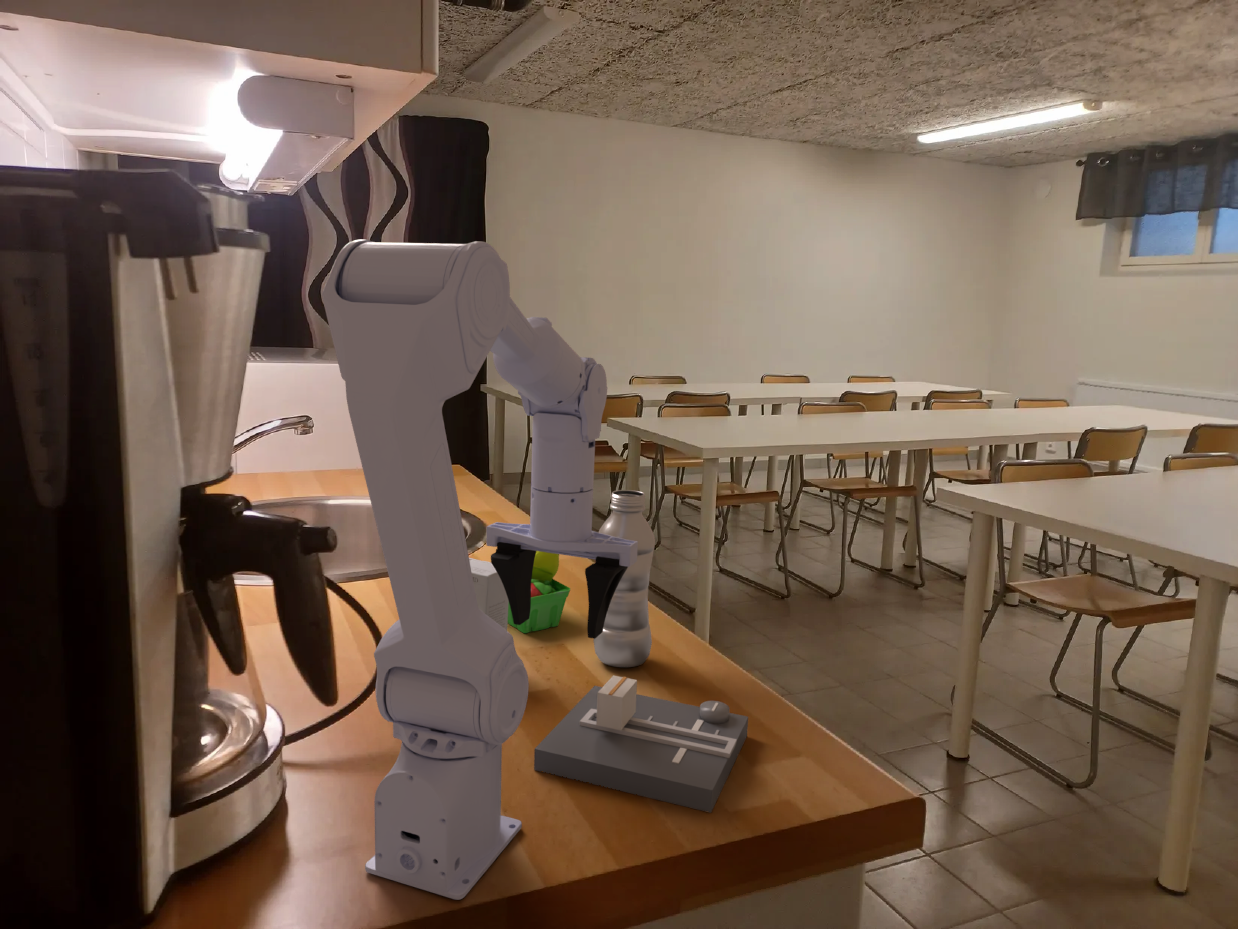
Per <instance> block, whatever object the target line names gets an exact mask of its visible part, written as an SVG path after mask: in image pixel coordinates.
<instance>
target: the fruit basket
mask: <svg viewBox="0 0 1238 929" xmlns="http://www.w3.org/2000/svg"><path fill="white" fill-rule="evenodd" d="M559 559H560V554H555V553H548V552H541V551H536V554H535V559H534V565H533V571H532V579H531V609H530V616H529V619H528V620H526V621H525V622H524V623H522V624H521V625H516V624H514V622H513V617H512V613H511V608H510V604H509V602H508V623H507V625H510V626H512V627H513V628H515V629H517V630H518V631H519V632H521V633H523V634H529V633H531V632H537V631H542V630H545V629H549V628H553V627H554V628H555V627H558V626H559V625H560V621H561V617H562V614H563V612H564V611H563V610H564V607H565V604H566V601H567V598H568V597H569V594H570V591H571V587H569V586H567V585H565V584H563V583H562V582H559V581H557V580H556V579H554V577H555V576H556V574H558V570H559V567H560V560H559Z"/></svg>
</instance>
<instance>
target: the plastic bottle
mask: <svg viewBox="0 0 1238 929" xmlns="http://www.w3.org/2000/svg"><path fill="white" fill-rule="evenodd" d="M645 500H646V493H645V492H642V491H640V490H639V491H638V490H632V489H618V490H614V491H612V492H611V497H610V502H611V503H610V504H609V509H610V510H611V511H612V513H611V514H610V515H609V516H608V518H606V519H605V521H604V522H603V524H602V525H601V527H600V528H599V531H598V533H602V534H606V535H610V536H614V537H617V538H622V539H626V540H632V541H637V542H638V548H637V562H635V563H634V564H633V565H631V566H630V567H628V568H627V570H626V571H625V573H624V575H623V577H622V578H621V580H620V582H619V584H618V586H617V588H616V590H615V593H614V595H613V597H612V600H611V602H610V605H609V608H608V611H607V615H606V618H605V622H604V627H603V632H602V633H601V634H600V635H599V636H598V637H597V638H595V639H593V646H594V652H595V655H596V657H597V658H598V660H599V661H600V662H602V663H603V664H604V665H608V666H611V667H615V668H633V667H637V666H640V665H643V664H644V663H645V662H646V660H647V659H648V658H649V656H650V654H651V653H650V652H651V649H652V643H653V640H652V631H651V626H650V620H649V618H650V617H649V616H650V615H649V600H648V599H649V585H650V575H651V573H650V572H651V567H652V564H653V563H652V562H653V557H654V552H655V551H654V550H655V545H656V538H655V535H654V531H653V530H652V528H651V525H650V524H649V522H648V520H647V519H646V518H645V517H644V515H643V512H645V511H646V505H645V504H646V502H645Z"/></svg>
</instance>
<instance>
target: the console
mask: <svg viewBox="0 0 1238 929" xmlns="http://www.w3.org/2000/svg"><path fill="white" fill-rule="evenodd" d="M602 687H603V686H598V685H594V686H593V687H591V689H590V690H589V691H588V692H587V693H586V694H585V695H584V696H583V697H582V698H580V700H579V701H578V702H577V703H576V704H575V705H574V706H573V708H571V709H570V711H569V712H568V713H567V714H566V715H565V716H564V717H563V718H562V719H561V720H560V722H558V724H557V725H555V727H554V728H553V729H552V730H551V731H550V732H548V734H547V735H546V736H545V737H544V738H543V739H542V740H541V742H540V743H538V745H537V746H536V747H535V748H534V751H533V752H534V755H533V756H534V758H533V759H534V760H533V762H534V764H533V770H534V771H537V772H541V771H543V772H542V773H545V772H546V773H545V774H549V773H551V775H554V774H555V775H554V776H558V777H562V776H563V778H566V777H567V779H570V780H574V779H576V780H575V781H578V780H580V781H579V782H582V781H583V783H586V782H589V783H588V784H591V783H592V784H591V785H595V786H599V785H601V786H600V787H603V786H604V788H607V787H608V789H611V788H612V790H615V789H616V790H615V791H619V790H620V791H621V792H625V793H628V794H631V795H632V794H633V795H636V794H637V795H636V796H641V797H645V798H647V799H648V798H649V799H652V800H657V801H661V802H666V803H669V804H674V805H678V806H682V807H686V808H690V809H695V810H699V811H703V812H707V813H712V812H713V809H714V807H715V805H716V803H717V800H718V798H719V797H720V795H721V792H722V790H723V788H724V787H725V784H726V782H727V780H728V777H729V776H730V772H732V769H733V767H734V764H735V763H736V760H737V758H738V756H739V754H740V752H741V750H742V748H743V746H744V743H745V741H746V739H747V737H748V727H749V716H747V715H742V714H738V713H737V714H736V713H733V712H732V713H731V712H730V707H729V705H727V704H726V703H724V702H723V701H719V700H707V701H704V702H702V703H701V704H700V705H699V706H698V705H697V706H696V705H693V704H688V703H683V702H678V701H672V700H668V699H663V698H657V697H653V696H652V697H651V696H648V695H643V694H638V693H636V712H635V713H634V715H633V716H632V717H631V718H630V720H629V721H628V722H627V724H626V725H625V726H624V727H623V729H622V730H616V729H612V728H607V727H602V726H598V725H596V722H597V696H598V691H599V690H600V689H601V688H602Z"/></svg>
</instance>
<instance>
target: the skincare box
mask: <svg viewBox="0 0 1238 929" xmlns="http://www.w3.org/2000/svg"><path fill="white" fill-rule="evenodd" d="M469 561H470V566H471V572H472V577H473V582H474V588H475V593H476V599H477V604H478V608H479V609H480V610H481V611H482V612H483V613H485V614H486V615H487V616H488V617H490V618H491V619H492V620H494V621H495V622H496V623H498V624H499V625H500V626H502V627H503V628H504V629H505V630H506V631H508V602H509V601H508V597H507V594H506V591H505V588H504V586H503V583H502V581H501V579H500V577H499V575H498V573H497V571H496V570H495V568H494V566H493V565H492V563H491V561H488V560H487V561H486V560H480V559H475V558H472V557H469Z"/></svg>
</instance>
